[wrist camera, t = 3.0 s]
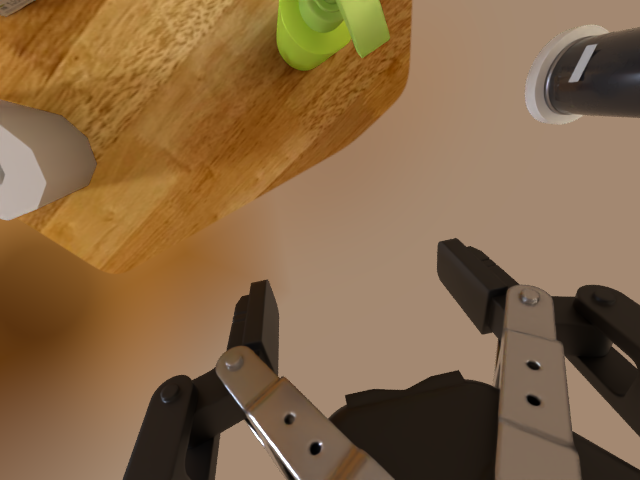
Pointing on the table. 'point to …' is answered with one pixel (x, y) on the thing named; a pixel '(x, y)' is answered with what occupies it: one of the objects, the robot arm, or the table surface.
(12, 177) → the toilet tissue
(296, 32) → the soap dispenser
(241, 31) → the table surface
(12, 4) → the tea box
